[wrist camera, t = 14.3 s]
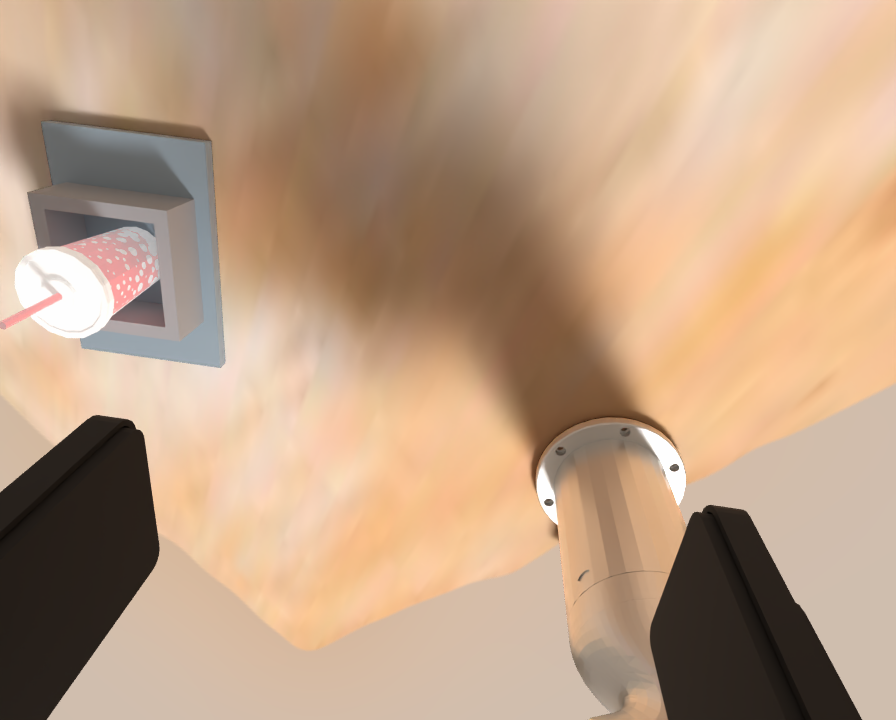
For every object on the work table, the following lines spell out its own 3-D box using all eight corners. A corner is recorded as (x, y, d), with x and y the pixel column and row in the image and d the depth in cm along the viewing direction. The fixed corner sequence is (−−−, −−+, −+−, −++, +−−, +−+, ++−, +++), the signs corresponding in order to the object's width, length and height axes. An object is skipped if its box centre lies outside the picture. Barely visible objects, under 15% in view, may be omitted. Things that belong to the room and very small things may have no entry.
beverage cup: (133, 200, 45) (-12, 252, 32) (192, 265, 47) (76, 339, 34) (83, 245, 47) (-72, 311, 34) (141, 307, 49) (14, 390, 36)
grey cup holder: (225, 362, 52) (198, 390, 47) (89, 343, 52) (49, 369, 48) (211, 141, 44) (176, 149, 39) (50, 120, 44) (-2, 126, 40)
